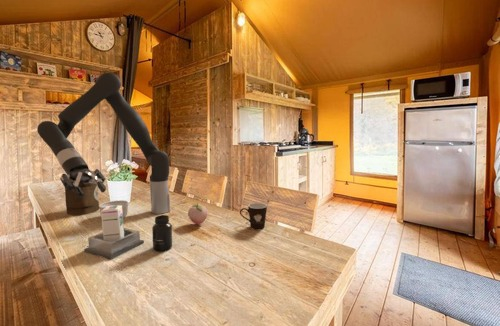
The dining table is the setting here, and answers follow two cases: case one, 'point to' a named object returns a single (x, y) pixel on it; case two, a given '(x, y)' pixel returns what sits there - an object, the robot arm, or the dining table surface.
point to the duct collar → (113, 244)
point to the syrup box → (112, 223)
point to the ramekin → (120, 202)
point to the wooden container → (82, 199)
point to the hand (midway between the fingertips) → (93, 193)
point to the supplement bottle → (162, 234)
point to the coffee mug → (256, 215)
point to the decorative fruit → (197, 214)
